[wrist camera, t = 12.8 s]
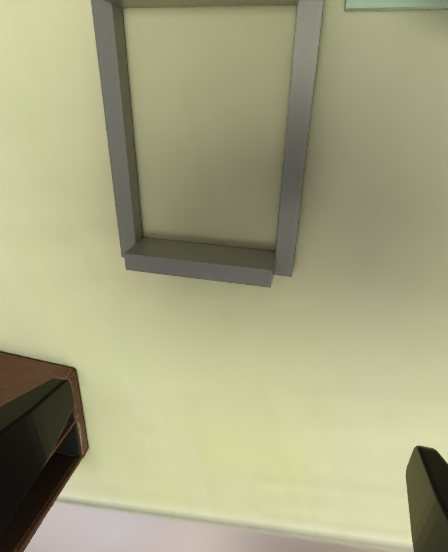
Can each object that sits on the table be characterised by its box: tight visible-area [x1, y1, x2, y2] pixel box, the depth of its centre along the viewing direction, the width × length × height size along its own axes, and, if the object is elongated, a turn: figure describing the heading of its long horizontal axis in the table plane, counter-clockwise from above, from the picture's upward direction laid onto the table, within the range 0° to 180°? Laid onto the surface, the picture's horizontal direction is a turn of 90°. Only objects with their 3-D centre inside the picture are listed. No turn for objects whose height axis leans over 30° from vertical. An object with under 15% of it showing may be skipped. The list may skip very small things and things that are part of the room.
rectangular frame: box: [91, 0, 324, 288], centre depth 18 cm, size 10×14×2 cm
